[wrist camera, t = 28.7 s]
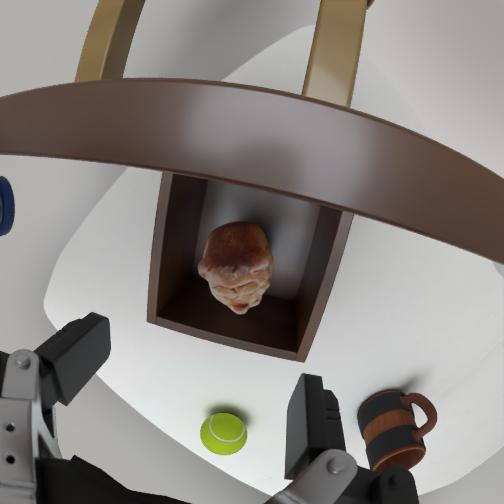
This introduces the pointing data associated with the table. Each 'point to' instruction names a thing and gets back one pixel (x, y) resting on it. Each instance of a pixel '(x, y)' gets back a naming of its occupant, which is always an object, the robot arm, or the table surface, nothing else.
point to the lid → (261, 134)
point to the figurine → (237, 264)
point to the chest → (283, 275)
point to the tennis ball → (223, 434)
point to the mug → (394, 429)
